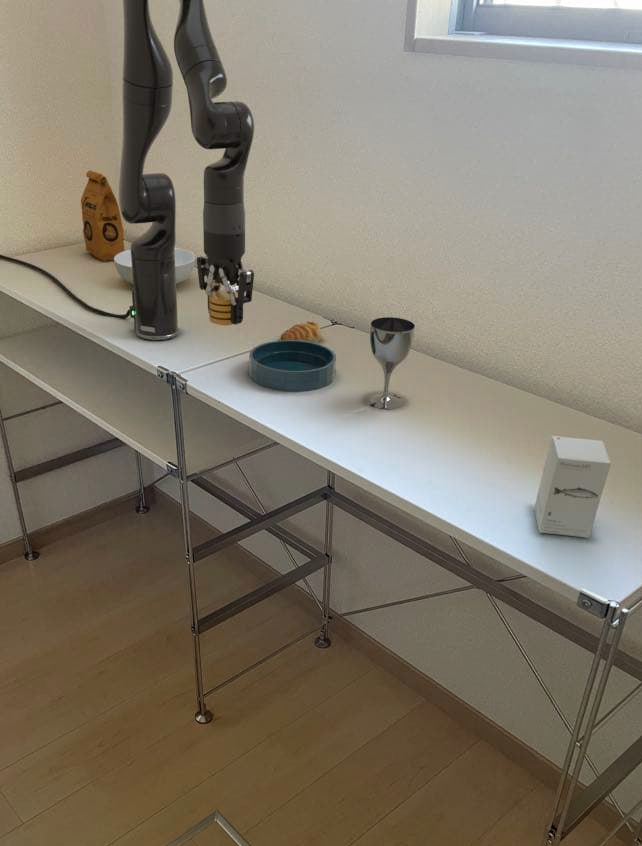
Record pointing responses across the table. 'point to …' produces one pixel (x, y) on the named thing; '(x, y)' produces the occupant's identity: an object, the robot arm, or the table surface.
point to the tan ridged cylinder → (220, 307)
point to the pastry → (303, 332)
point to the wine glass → (390, 352)
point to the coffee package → (101, 219)
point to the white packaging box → (571, 486)
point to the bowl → (292, 365)
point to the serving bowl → (182, 264)
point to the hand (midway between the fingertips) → (225, 318)
